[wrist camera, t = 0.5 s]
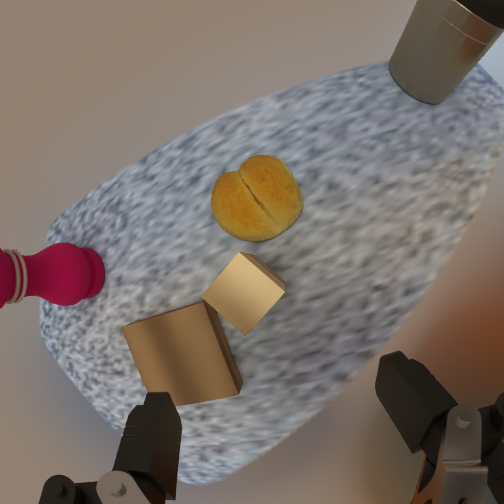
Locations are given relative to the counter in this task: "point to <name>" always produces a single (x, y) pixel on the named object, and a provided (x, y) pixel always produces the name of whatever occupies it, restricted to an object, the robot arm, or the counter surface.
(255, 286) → the beech block
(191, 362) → the walnut block
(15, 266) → the pepper mill
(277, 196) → the bread roll
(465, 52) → the robot arm
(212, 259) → the counter surface
